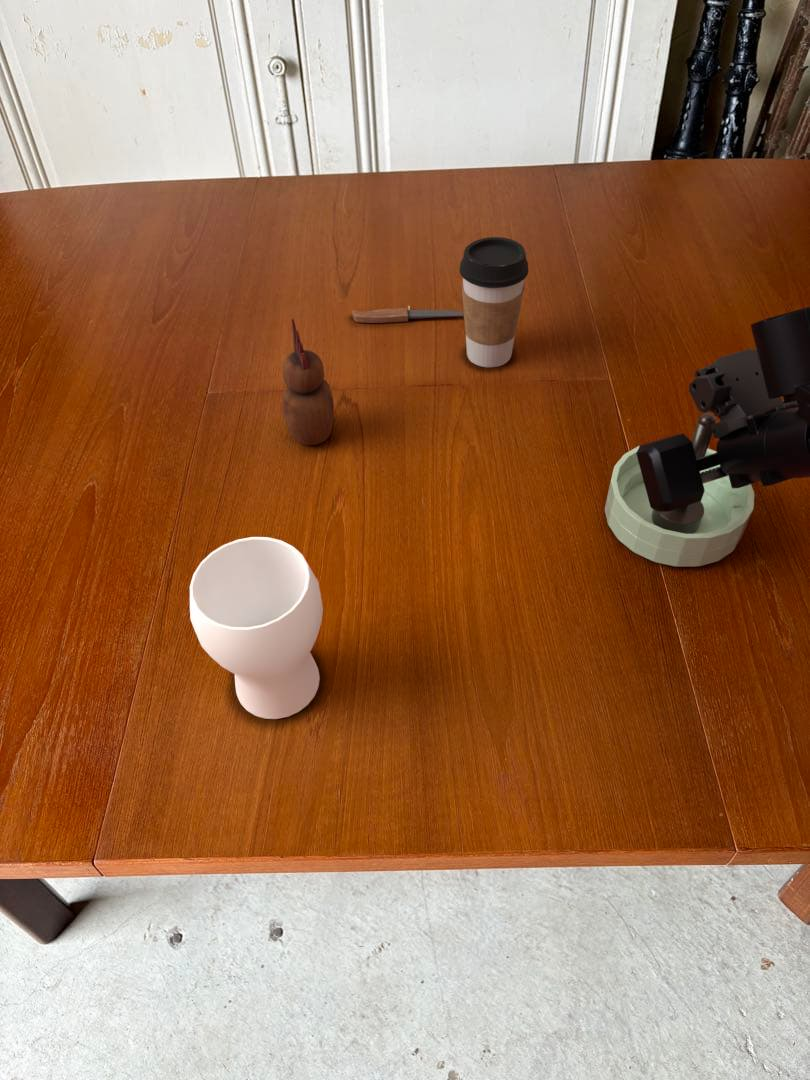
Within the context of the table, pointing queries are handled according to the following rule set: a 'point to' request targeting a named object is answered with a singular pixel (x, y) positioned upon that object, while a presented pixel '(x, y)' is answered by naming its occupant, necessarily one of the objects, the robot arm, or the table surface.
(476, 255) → the coffee cup
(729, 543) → the mixing bowl
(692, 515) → the joystick
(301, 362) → the wooden figurine
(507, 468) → the table surface
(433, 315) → the knife
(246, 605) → the cup
